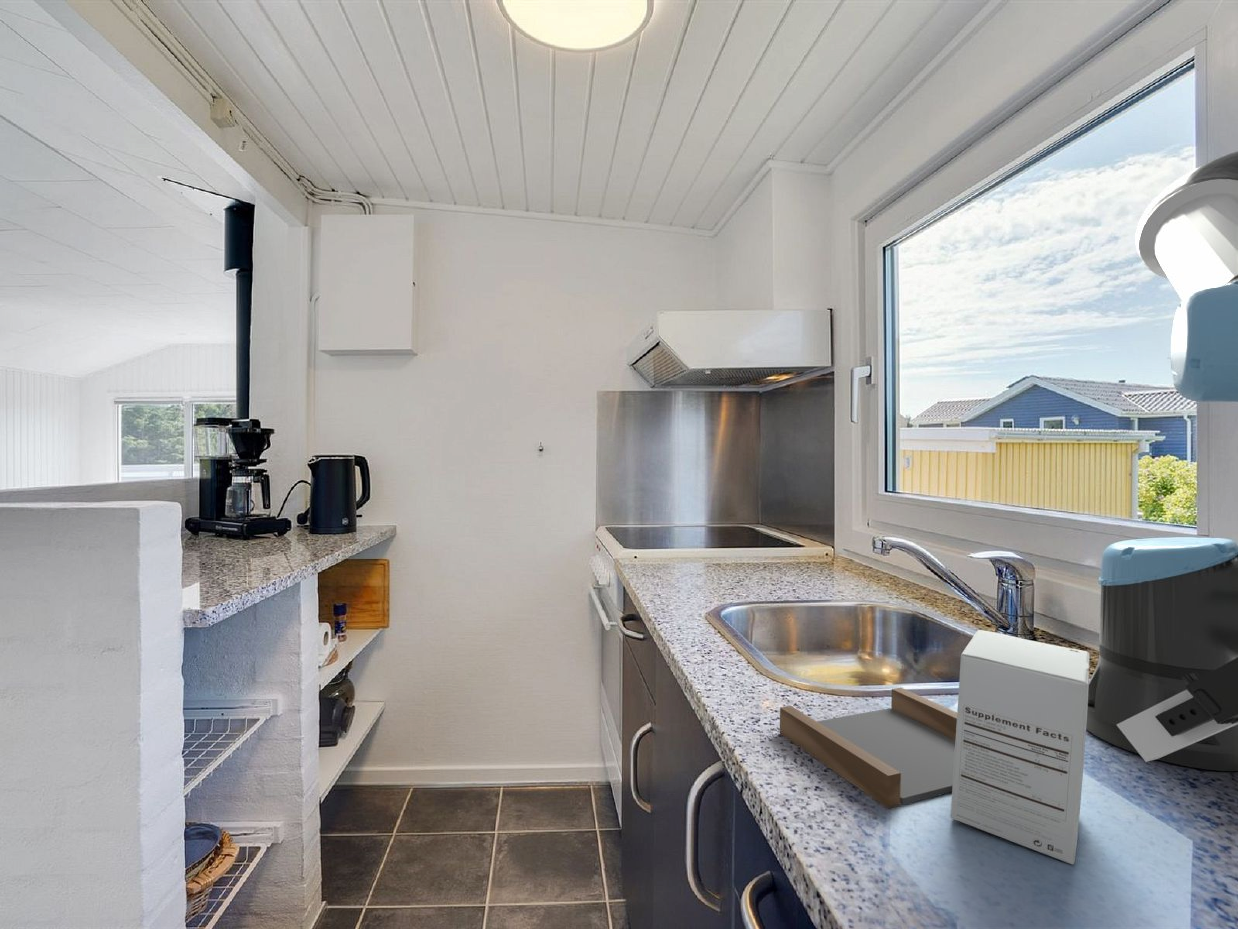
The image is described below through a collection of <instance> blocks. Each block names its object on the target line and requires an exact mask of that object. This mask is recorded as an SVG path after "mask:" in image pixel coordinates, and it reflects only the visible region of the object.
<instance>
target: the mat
mask: <svg viewBox="0 0 1238 929" xmlns="http://www.w3.org/2000/svg"><path fill="white" fill-rule="evenodd" d="M816 721H817V722H818V723H820V724H822V725H823V726H825V727H826V728H828V729H830V730H831V731H833V732H835V733H836V734H838V735H840V736H841V737H843V738H844V739H846V740H848V741H849V742H851V743H853V744H854V745H856V746H858V747H859V748H861V749H862V750H864V751H866V752H867V753H869V754H871V755H872V756H874V757H876V758H877V759H879V760H881V761H882V762H884V763H885V764H887V765H889V766H890V767H892V768H894V769H895V770H897V771H899V772H900V773H901V790H900V805H902V806H903V805H908V804H911V803H914V802H918V801H922V800H926V799H930V798H934V797H937V796H942V795H945V794H948V793H949V794H950V793H952V788H953V771H954V755H955V740H953V739H951V738H949V737H947V736H945V735H943V734H941V733H939V732H937V731H935V730H933V729H931V728H929V727H927V726H925V725H923V724H921V723H919V722H917V721H915V720H913V719H911V718H909V717H907V716H905V715H903V714H901V713H899V712H897V711H895V710H893V709H891V708H890V707H887V708H884V709H877V710H871V711H866V712H861V713H860V712H859V713H856V714H850V715H845V716H838V717H834V718H828V719H822V720H816Z"/></svg>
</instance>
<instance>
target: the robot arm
mask: <svg viewBox="0 0 1238 929" xmlns="http://www.w3.org/2000/svg"><path fill="white" fill-rule="evenodd" d="M1135 246H1136V250H1137V253H1138V255H1139V257H1140V259H1141V261H1142V262H1143V264H1144V265H1145V266H1146V267H1147V268H1148V270H1149V271H1151V272H1152V273H1153V274H1155V275H1157V276H1159V277H1161V278H1164V279H1167V280H1169V281H1170V283H1171V284H1172V286H1173V287H1174V289H1175V291H1176V292H1177V294H1178V295H1179V297H1180V299H1181V303H1180V304H1179V305H1178V307H1177V308H1176V311H1175V314H1174V315H1175V316H1174V318H1173V324H1172V331H1171V340H1170V368H1171V371H1172V384H1173V386H1174V387H1175V390H1176V392H1177V393H1178V394H1179V396H1181V397H1183V398H1184V399H1187V400H1190V401H1193V402H1199V403H1201V402H1204V403H1205V402H1211V403H1213V402H1215V403H1218V402H1221V403H1223V402H1227V403H1228V402H1229V403H1230V402H1231V403H1237V402H1238V150H1237V151H1235V152H1230V153H1228V154H1225V155H1224V156H1220V157H1218V158H1216V159H1213V160H1210V161H1209V162H1207V163H1205V164H1203V165H1200V166H1199V167H1197V168H1195V169H1193V170H1191V171H1190V172H1188V173H1186V174H1185V175H1183V176H1182V177H1179V179H1177V180H1175V181H1174V182H1173V183H1171V184H1170V185H1168V186H1167V187H1166V188H1165V189H1164V190H1163V191H1162V192H1161V193H1159V194H1158V196H1157V197H1155V198H1154V199H1153V200H1152V202H1151V203H1150V204H1149V205H1148V207H1147V208H1146V209H1145V211H1144V212H1143V214H1142V216H1141V218H1140V219H1139V222H1138V225H1137V229H1136V232H1135ZM1100 567H1101V568H1100V576H1099V577H1098V580H1097V581H1098V584H1099V585H1100V607H1099V608H1100V610H1099V611H1100V614H1099V637H1098V638H1099V639H1098V640H1099V642H1098V643H1099V644H1098V645H1099V649H1098V650H1099V651H1098V654H1099V655H1098V662H1097V665H1096V666H1095V669H1094V671H1093V673H1092V675H1091V677H1090V678H1089V688H1088V709H1087V724H1086V731H1088V732H1090V733H1091V734H1092V735H1094V736H1096V737H1097V738H1099V739H1101V740H1103V741H1105V742H1107V743H1110V744H1112V745H1113V746H1116V747H1119V748H1121V749H1124V750H1127V751H1129V752H1131V753H1135V754H1138V755H1140V756H1141V758H1142V759H1143V760H1144V762H1145V763H1148V762H1150V761H1154V760H1158V761H1161V762H1164V763H1165V762H1166V763H1169V764H1175V765H1180V766H1183V767H1184V766H1185V767H1188V768H1194V769H1195V768H1196V769H1201V770H1208V771H1221V772H1223V771H1224V772H1238V544H1237V542H1236V541H1235V540H1233V539H1229V538H1222V537H1221V538H1220V537H1196V536H1195V537H1194V536H1191V537H1190V536H1185V537H1183V536H1180V537H1179V536H1177V537H1176V536H1175V537H1152V538H1151V537H1148V538H1138V539H1128V540H1127V539H1126V540H1121V541H1118V542H1117V541H1116V542H1114V543H1111V544H1109V545H1108V546H1107V547H1106V548H1105V549H1104V550H1103V552H1102V556H1101V566H1100Z"/></svg>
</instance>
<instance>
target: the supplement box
mask: <svg viewBox="0 0 1238 929" xmlns="http://www.w3.org/2000/svg"><path fill="white" fill-rule="evenodd" d="M1090 656H1091V655H1090V652H1088V651H1086V650H1082V649H1081V650H1080V649H1078V648H1077V649H1076V648H1070V647H1065V646H1061V645H1054V644H1049V643H1044V642H1041V641H1035V640H1031V639H1026V638H1021V637H1017V636H1013V635H1009V634H1004V633H1001V632H994V631H991V630H983V629H977V630H976V632H975V633H974V635H973V636H972V638H971V639H970V641H969V642H968V644H967V645H966V647H965V648H964V650H963V651H962V652H961V654H960V665H959V668H960V669H959V680H958V682H959V683H958V697H957V708H956V709H957V711H956V712H957V725H956V740H955V755H954V771H953V788H952V792H951V806H950V808H951V809H950V818H952V819H953V820H955V821H958V822H960V823H964V824H966V825H968V826H970V827H973V828H976V829H978V830H981V831H983V832H986V833H989V834H992V835H994V836H997V837H1000V838H1002V839H1005V840H1007V841H1009V842H1012V843H1013V844H1014V843H1015V844H1017V845H1020V846H1023V847H1025V848H1028V849H1030V850H1033V851H1036V852H1038V853H1041V854H1043V855H1047V856H1049V857H1052V858H1054V859H1057V860H1059V861H1062V862H1065V863H1066V864H1067V863H1068V864H1070V865H1075V861H1076V852H1077V842H1078V835H1079V834H1078V832H1079V822H1080V813H1081V802H1082V801H1081V800H1082V789H1083V776H1084V761H1085V750H1086V749H1085V748H1086V736H1087V735H1086V734H1087V729H1086V724H1087V709H1088V688H1089V682H1090Z"/></svg>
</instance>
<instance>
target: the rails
mask: <svg viewBox="0 0 1238 929" xmlns="http://www.w3.org/2000/svg"><path fill="white" fill-rule="evenodd" d="M890 704H891V706H890V707H891V709H893V710H895V711H897V712H899V713H901V714H903V715H905V716H907V717H909V718H911V719H913V720H915V721H917V722H919V723H921V724H923V725H925V726H927V727H929V728H931V729H933V730H935V731H937V732H939V733H941V734H943V735H945V736H947V737H949V738H951V739H953V740H956V725H957V711H954V710H952V709H950V708H949V707H947V706H946V707H945V706H943V705H941V704H939V703H937V702H935V701H932V700H930V699H927V698H925V697H923V696H920V695H918V694H916V693H914V692H912V691H909V690H907V689H906V688H903V687H896V688H891V703H890ZM817 721H818V720H815V719H813V718H812V717H810V716H808V715H807V714H806V713H804V712H802V711H800V710H798V709H797V708H795V707H793V706H792V705H786V706H781V707H779V734H780V735H782V736H783V737H784V738H786V739H788V740H789V741H790V742H792V743H793V744H794V745H795V746H797V747H799V748H800V749H802V750H803V751H805V752H806V753H808V754H809V755H810V756H811V757H813V758H815V759H816V760H818V762H820V763H821V764H823V765H824V766H826V767H828V768H829V769H830V770H832V771H833V772H834V773H836V774H837V775H839V776H840V777H842V778H843V779H845V780H846V781H848V782H849V783H850V784H852V785H853V786H855V787H856V788H857V789H859V790H860V791H862V792H863V793H864V794H866V795H867V796H869V797H870V798H872V799H873V800H875V801H876V802H877V803H879V804H880V805H882V806H884V808H886V809H892V808H895V807H899V806H901V804H900V790H901V773H900V772H899V771H897V770H895V769H894V768H892V767H890V766H889V765H887V764H885V763H884V762H882V761H881V760H879V759H877V758H876V757H874V756H872V755H871V754H869V753H867V752H866V751H864V750H862V749H861V748H859V747H858V746H856V745H854V744H853V743H851V742H849V741H848V740H846V739H844V738H843V737H841V736H840V735H838V734H836V733H835V732H833V731H831V730H830V729H828V728H826V727H825V726H823V725H822V724H820V723H818V722H817Z"/></svg>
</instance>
